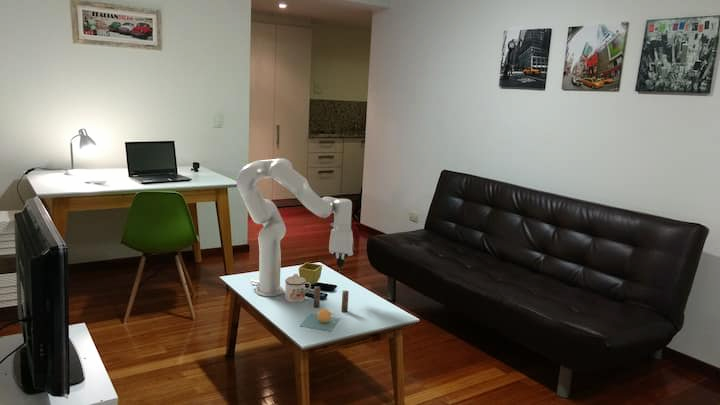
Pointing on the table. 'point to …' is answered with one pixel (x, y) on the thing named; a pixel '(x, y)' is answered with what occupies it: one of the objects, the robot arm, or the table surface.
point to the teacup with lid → (296, 288)
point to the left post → (316, 297)
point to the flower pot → (310, 272)
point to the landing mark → (319, 323)
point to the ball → (324, 316)
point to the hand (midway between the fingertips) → (340, 266)
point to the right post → (345, 301)
